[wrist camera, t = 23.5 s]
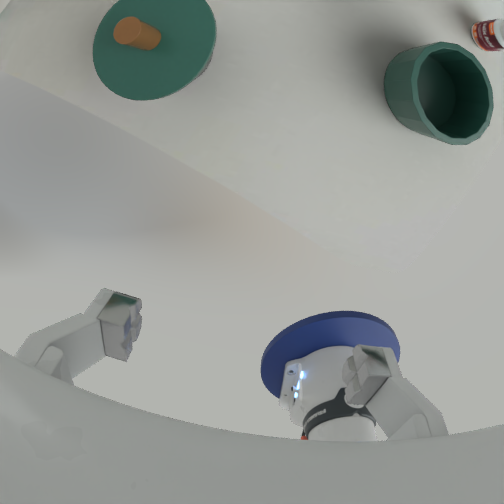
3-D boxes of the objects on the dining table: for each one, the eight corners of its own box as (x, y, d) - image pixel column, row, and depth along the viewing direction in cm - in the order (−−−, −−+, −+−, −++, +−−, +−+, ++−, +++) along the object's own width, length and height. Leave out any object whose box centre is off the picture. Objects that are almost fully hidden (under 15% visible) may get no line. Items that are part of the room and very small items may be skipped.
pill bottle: (465, 23, 25) (499, 16, 17) (485, 22, 24) (519, 17, 16) (477, 52, 27) (512, 51, 19) (496, 50, 26) (531, 49, 18)
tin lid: (202, 107, 27) (185, 110, 21) (90, 96, 26) (55, 100, 21) (231, -10, 21) (221, -34, 15) (113, -11, 20) (84, -26, 15)
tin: (445, 146, 35) (478, 160, 27) (373, 114, 34) (399, 120, 26) (464, 73, 29) (500, 74, 21) (394, 35, 28) (422, 24, 21)
